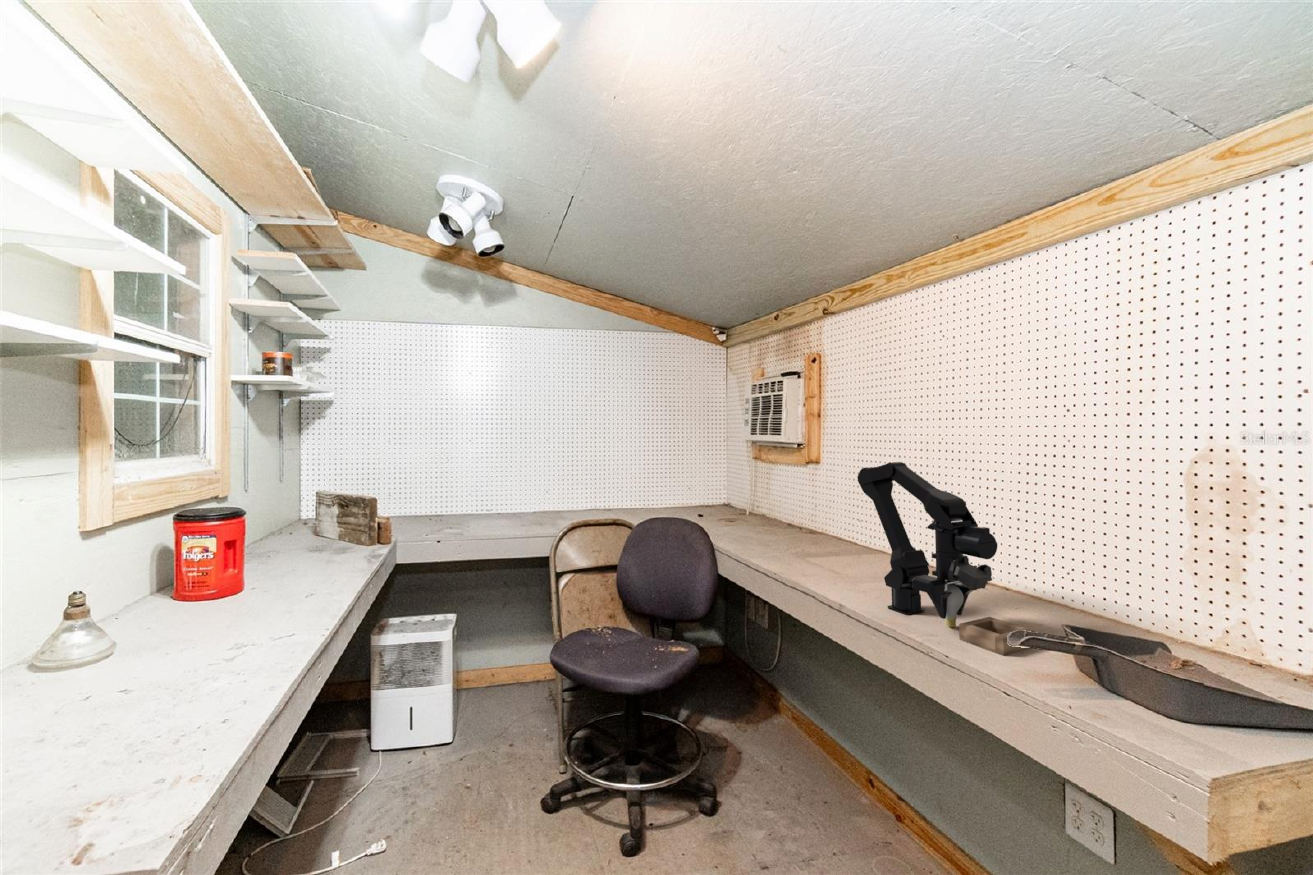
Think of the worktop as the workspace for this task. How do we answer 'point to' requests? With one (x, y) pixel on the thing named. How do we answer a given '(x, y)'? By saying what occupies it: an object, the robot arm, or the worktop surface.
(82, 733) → the worktop surface
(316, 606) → the worktop surface
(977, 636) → the socket block
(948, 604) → the light bulb
